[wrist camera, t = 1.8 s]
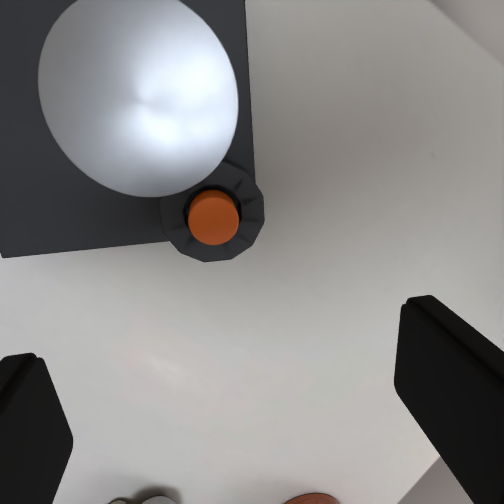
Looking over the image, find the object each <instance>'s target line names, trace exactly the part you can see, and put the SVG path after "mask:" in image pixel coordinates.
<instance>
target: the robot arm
mask: <svg viewBox="0 0 504 504" xmlns="http://www.w3.org/2000/svg"><path fill="white" fill-rule="evenodd" d="M394 386H395V390H396V392H397V394H398V396H399V397H400V399H401V400H402V401H403V403H404V404H405V406H406V407H407V409H408V410H409V411H410V413H411V414H412V416H413V417H414V419H415V420H416V421H417V423H418V424H419V426H420V427H421V429H422V430H423V432H424V433H425V434H426V436H427V437H428V439H429V440H430V442H431V443H432V444H433V446H434V447H435V449H436V450H437V452H438V453H439V454H440V456H441V457H442V459H443V460H444V462H445V463H446V464H447V466H448V467H449V469H450V470H451V472H452V473H453V474H454V476H455V477H456V479H457V480H458V481H459V483H460V484H461V486H462V487H463V489H464V490H465V492H466V493H467V494H468V496H469V497H470V499H471V500H472V502H473V503H474V504H504V352H503V351H502V350H501V349H500V348H498V347H497V346H496V345H495V344H493V343H492V342H491V341H489V340H488V339H487V338H486V337H484V336H483V335H482V334H481V333H479V332H478V331H477V330H476V329H474V328H473V327H472V326H471V325H469V324H468V323H467V322H465V321H464V320H463V319H462V318H460V317H459V316H458V315H457V314H455V313H454V312H453V311H452V310H450V309H449V308H448V307H447V306H445V305H444V304H443V303H441V302H440V301H439V300H438V299H436V298H435V297H434V296H432V295H425V296H418V297H411V298H409V299H408V300H407V301H406V304H403V305H402V307H401V313H400V323H399V333H398V343H397V354H396V364H395V374H394ZM72 448H73V436H72V433H71V430H70V427H69V425H68V422H67V419H66V417H65V414H64V411H63V409H62V406H61V404H60V401H59V398H58V396H57V393H56V390H55V388H54V385H53V382H52V380H51V377H50V374H49V372H48V369H47V367H46V364H45V362H44V360H43V359H42V358H40V357H39V358H37V357H36V355H35V354H34V353H25V354H18V355H11V356H6V357H4V358H3V359H2V360H1V361H0V504H52V503H53V500H54V497H55V495H56V492H57V490H58V487H59V484H60V482H61V479H62V476H63V474H64V471H65V468H66V466H67V463H68V460H69V458H70V455H71V452H72Z"/></svg>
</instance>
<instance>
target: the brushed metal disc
mask: <svg viewBox="0 0 504 504" xmlns="http://www.w3.org/2000/svg"><path fill="white" fill-rule="evenodd" d="M38 90H39V98H40V102H41V107H42V111H43V114H44V117H45V120H46V123H47V125H48V127H49V129H50V131H51V133H52V135H53V137H54V139H55V140H56V142H57V144H58V145H59V147H60V148H61V149H62V151H63V152H64V153H65V155H66V156H67V157H68V158H69V159H70V160H71V161H72V162H73V163H74V164H75V165H76V166H77V168H79V169H80V170H81V171H82V172H84V173H85V174H86V175H87V176H88V177H90V178H92V179H93V180H95V181H96V182H98V183H99V184H101V185H103V186H105V187H107V188H110V189H112V190H115V191H117V192H120V193H123V194H128V195H132V196H139V197H162V196H168V195H173V194H176V193H179V192H182V191H184V190H187V189H189V188H191V187H193V186H195V185H196V184H198V183H199V182H201V181H202V180H204V179H205V178H206V177H207V176H208V175H210V174H211V173H212V172H213V170H214V169H215V168H216V167H217V166H218V165H219V164H220V162H221V161H222V159H223V158H224V157H225V155H226V153H227V151H228V149H229V147H230V145H231V142H232V140H233V137H234V134H235V130H236V126H237V122H238V113H239V95H238V87H237V81H236V77H235V73H234V69H233V66H232V64H231V61H230V58H229V56H228V54H227V52H226V50H225V48H224V46H223V44H222V43H221V41H220V40H219V38H218V37H217V35H216V34H215V32H214V31H213V30H212V28H211V27H210V26H209V25H208V24H207V23H206V22H205V20H204V19H203V18H201V17H200V16H199V15H198V14H197V13H196V12H195V11H194V10H193V9H191V8H190V7H188V6H187V5H185V4H184V3H182V2H181V1H179V0H77V1H76V2H74V3H73V4H71V5H70V6H69V7H68V8H67V9H66V10H65V11H64V12H63V13H62V14H61V15H60V17H59V18H58V19H57V21H56V22H55V23H54V24H53V26H52V28H51V30H50V32H49V33H48V35H47V37H46V40H45V43H44V45H43V48H42V51H41V56H40V61H39V67H38Z"/></svg>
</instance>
